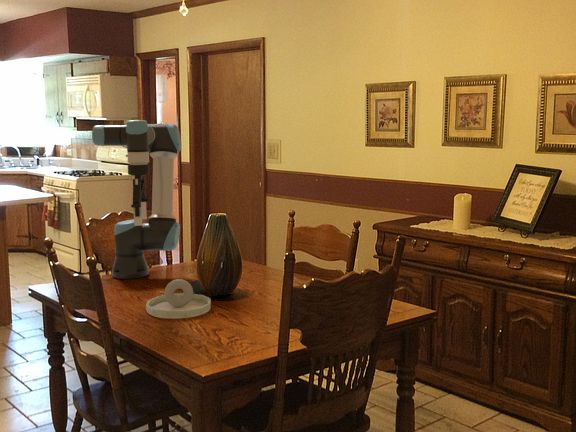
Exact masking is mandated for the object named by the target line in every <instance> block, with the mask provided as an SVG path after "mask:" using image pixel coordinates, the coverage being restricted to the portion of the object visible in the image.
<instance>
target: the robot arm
mask: <svg viewBox="0 0 576 432" xmlns="http://www.w3.org/2000/svg"><path fill="white" fill-rule="evenodd" d="M125 123H126V124H124V125H123V124H122V125H119V124H115V125H114V124H113V125H112V124H107V125H103V124H101V125H100V124H99V125H98V124H97V125H94V126H93V128H92V131H91V138H92V143H93V145H94V146H102V147H104V146H105V147H106V146H107V147H112V146H115V147H123V148H124V149H126V153H127V154H125V158H127V163H128V165H127V174H128V176H134V178H133V179H132V204H131V205H130V206H131V207H130V208H132V209H133V219H127V220H123V221H122V220H121V221H119V222H116V224H115V225H114V234H113V235H114V253H115V255H114V256H115V259H114V262H113V265H112V269H111V276H112V277H113V278H115V279H121V280H122V279H123V280H131V279H139V278H144V277H146V276H147V277H148V275H149V274H150V273H149V272H150V271H149V270H150V269H149V266H148V263H147V261H146V258H145V253H144V252H145V251H164V252H166V251H173V250H175V249H176V248H177V246H178V244H179V239H180V234H181V233H180V232H181V230H180V229H181V224H180V223H179V222H178V221H177V218H176V217H175V216H174V214H173V212H174V211H173V210H174V207H173V206H174V165H175V164H174V160H175V159H176V158H177V157H178V153H180V152H182V139H181V133H180V129H179V126H178V125H176V124H173V123H148V121H147V120H145V119H143V120H142V119H133V120H132V119H131V120H130V119H129V120H127V121H126V122H125ZM150 157H151V158H152V192H151V193H152V197H151V202H152V205H151V215H149V216H147V202H149V198H147V192H146V191H147V189H146V179H145V178H146V176H149V174H150V164H149V163H150ZM144 220H147V222H144Z"/></svg>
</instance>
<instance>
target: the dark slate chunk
mask: <svg viewBox="0 0 576 432" xmlns="http://www.w3.org/2000/svg"><path fill="white" fill-rule="evenodd" d="M199 280H200V279H197V280H194V281H193V282H191V283H190V285H191V287H192V289H193V294H199V295H204V296H206V297H208V298H211V297H210V295H209V293H208V292H207V291H206V290H205V289H204V288H203V286H202V285H201V284H200V281H199ZM232 295H234V292H233V293H232Z"/></svg>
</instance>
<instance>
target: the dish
mask: <svg viewBox="0 0 576 432" xmlns="http://www.w3.org/2000/svg"><path fill="white" fill-rule="evenodd" d="M183 294H184V292H183V293H174V295H175V297H177V298H180V297H182V296H183ZM211 304H212V300H211V297H206V296H204V295H199V294H193V297H192V299H191V301H190V302H189V303H188V304H187V305H185V306H183V307H174V306H172V305H170V304H169V303H168V302H167V301H166V299H165V295H164V294H163V295H158V296H156V297H153V298H151V299H148V300H147V302H146V304H145V310H146V312H147V314H148V315H150V316H151V317H154V318H155V317H156V318H158V319H159V318H160V319H166V320H167V319H168V320H170V319H171V320H177V319H179V320H180V319H189V318H195V317H199V316H202V315H205V314H207V313H209V311H210V310H211V306H212V305H211Z"/></svg>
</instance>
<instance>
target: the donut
mask: <svg viewBox="0 0 576 432" xmlns="http://www.w3.org/2000/svg"><path fill="white" fill-rule="evenodd" d="M179 289H180V290H182V291H183V293H184V294H183V296H182V297H180V298H177V297H175V295H174V294H175V291H176V290H179ZM163 295H165V299H166V301H167V302H168V303H169V304H170V305H172V306H174V307H183V306H185V305H187V304H188V303H189V302H190V301H191V299H192V297H193V289H192V286H191V283H189V281H187V280H185V279H183V278H182V279H181V278H180V279H179V278H177V279H173V280H171V281H170V282H168V284H166V287H165V288H164V293H163Z"/></svg>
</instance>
